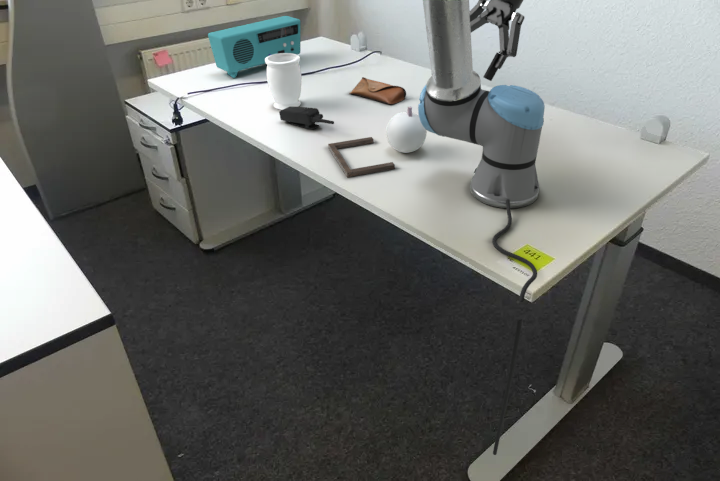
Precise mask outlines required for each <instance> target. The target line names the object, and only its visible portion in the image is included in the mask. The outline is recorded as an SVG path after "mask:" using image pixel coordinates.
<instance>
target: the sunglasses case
mask: <svg viewBox="0 0 720 481" xmlns="http://www.w3.org/2000/svg"><path fill="white" fill-rule="evenodd" d="M348 93H349V95H353V96H358V97H362V98H365V99H368V100H372V101H375V102H378V103H382V104H387V105H395V104H398V103H401V102H402V101H405V100H406V97H407V90H406V89H405V88H404V87H403V86H399V85H392V84H389V83H386V82H382V81H378V80H374V79H369V78H366V77H364V76H363V77H361V79H360V81H359V82H358V83H357V84H356V85H355V86H354V88H352V90H351V91H350V92H348Z"/></svg>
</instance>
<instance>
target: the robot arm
mask: <svg viewBox="0 0 720 481" xmlns="http://www.w3.org/2000/svg"><path fill="white" fill-rule="evenodd" d="M523 2H524V0H478V1H477V2H476V4H475V5H474V6H473V7H472V8H470V0H422V6H423V13H424V19H425V20H424V22H425V30H426V38H427V48H428V55H429V56H428V57H429V64H430V71H431V76H430V77H429V78H428V80H427V81H426V83H425V85H424V86H423V88H422V90H421V92H420V94H419V98H418V100H419V103H418V105H417V111H418V112H417V115H419V118H420V121H421V124H422V125H423V127H424V128H425V129H426V130H427V131H428V132H429V133H432V134H434V135H437V136H438V137H439V136H440V137H446V138H450V139H454V140H458V141H462V142H466V143H470V144H473V145H477V146H481V147H482V152H481V153H482V154H481V159H480V161H479V163H478V165H477V167H476V168H475V169H474V171H473V176H472V178H471V180H470V186H469V190H470V194H471V196H473V198H475V199H476V200H477V201H478V202H481V203H482V204H485V205H487V206H491V207H493V208H494V207H495V208H499V209H500V208H501V209H506V214H507V224H506V225H505V227H504V228H502V229H501V230H499V231H498V232H497V233H495V234H494V235H493V237H492V242H491V243H492V245H493V247H494V248H495V249H496V251H498V252H500V253H501V254H503V255H505V256H508V257H509V258H512V259H515V260H516V261H519V262H521V263H523V264H525V265H526V266H528V267H529V268H530V270H531V272H532V275H531V276H530V278H529V279H527V281H526V282H525V283H524V284H523V286H522V288H521V290H520V293H519V298H518V301H519V302H520V303H523V302H524V301H525V296H526V293H527V290H528V289H529V287H530V286H531V284H533V283H534V281H535V280H536V279H537V277H538V271H537V270H538V269H537V267H536V266H535V265H534V264H533V263H532V262H531V261H530V260H528V259H527V258H525V257H523V256H520V255H518V254H515V253H513V252H511V251H509V250H506V249H504V248H503V247H501V246H500V245H499V244H498V242H497V239H498V238H500V237H501V236H502V235H504V234H505V233H506V232H507V231H508V230H510V228H511V226H512V223H513V217H512V211H511V210H512V209H519V208H524V207H527V206H530V205H531V204H533V203H534V202H536V200H537V199H538V197H539V192H540V182H539V177H538V172H537V165H536V161H537V157H538V152H539V145H540V140H541V134H542V129H543V126H544V122H545V120H544V119H545V118H544V115H545V108H546V107H545V106H546V105H545V102H544V100H543V98H541V96H540V95H539V94H537V93H536V92H534V91H533V90H531V89H529V88H526V87H523V86H519V85H513V84H509V85H507V84H499V85H495V86H493V87H492V88H491V89H490V90H486V89H482V85H481V84H482V83H481V82H482V81H481V77H480V75H479V74H478V72H476V71H475V70H474V69H473V68H474V67H473V51H472V50H473V49H472V33H473V32H475V31H476V30H478V29H479V28H480V27H483V26H484V25H485V24H491V25H495V27H497V29H498V38H499V51H498V52H496V53H495V54H494V57H493V58H492V60H491V62H490V64H489V65H488V67H487V69H486V70H485V73H484V75H483V78H484V79H486V80H488V81H490V82H492V81H493V79H494V77H495V76H496V74H497V72H498V70H501V69H502V67H503V65H504V64H505V62H506V60H507V59H508V58H516V57H517V54H518V49H519V42H520V35H521V31H522V30H521V29H522V25H523V22H524V20H525V15H523V14H521V13H520V12H517V10H518V9H520V8H521V5H522V4H523ZM510 21H511V23H510ZM522 324H523V318H522V319H517V321H516V329H515V335H514V342H513V347H512V354H511V359H510V364H509V370H508V376H507V379H506V380H507V381H506V385H505V390H504V396H503V401H502V405H501V409H500V410H501V411H500V416H499V421H498V425H497V431H496V434H495V439H494V445H493V450H492V454H493V455H494V456H497V454H498V448H499V444H500V439H501V434H502V430H503V424H504V421H505V420H504V419H505V416H506V415H505V414H506V410H507V406H508V401H509V397H510V391H511V387H512V382H513V376H514V372H515V366H516V362H517V357H518V352H519V350H518V349H519V345H520V337H521V332H522V326H523V325H522Z"/></svg>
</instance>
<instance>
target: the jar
mask: <svg viewBox="0 0 720 481" xmlns="http://www.w3.org/2000/svg"><path fill="white" fill-rule="evenodd" d="M300 61H301V57H300V55H299V54H298V55H296V54H292V53H280V54H274V55H270V56H268V57H266V58H265V65H267V66H266V80H267V85H268V88H269V92H270V95H271V96H270V97H271V98H272V99H273V101H274V102H273V108H275V109H277V110H279V111H281V110H283V109H285V108H287V107H290V106H291V107H301V100H300V97H301V94H302V83H303V81H302V80H303V77H302V69H301V66H300V63H299V62H300Z"/></svg>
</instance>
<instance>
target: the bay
mask: <svg viewBox="0 0 720 481" xmlns="http://www.w3.org/2000/svg"><path fill="white" fill-rule="evenodd" d="M374 142H375V140H374V138H373V137H372V136H369V137H363V138H357V139H356V138H355V139H350V140H343V141H336V142H331V143H328V144H327V147H328V149H329V151H330V153H331V154H332V156H333V157H334V159H335V161H336V162H337V164H338V165H339V167H340V168H341V170H342V171H343V173H344V174H345V177H347V178H352V177H357V176H365V175H369V174H375V173H380V172H386V171H390V170H395V169H396V164H395V163H394V162H393V161H390V162H385V163H380V164H373V165H367V166H362V167H356V168H351V167H350V166H349V165H348V164H347V162H346V160H345V159H344V157H343V156H342V154H341V152H340V151H339V149H345V148H352V147H359V146H364V145H369V144H374Z"/></svg>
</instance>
